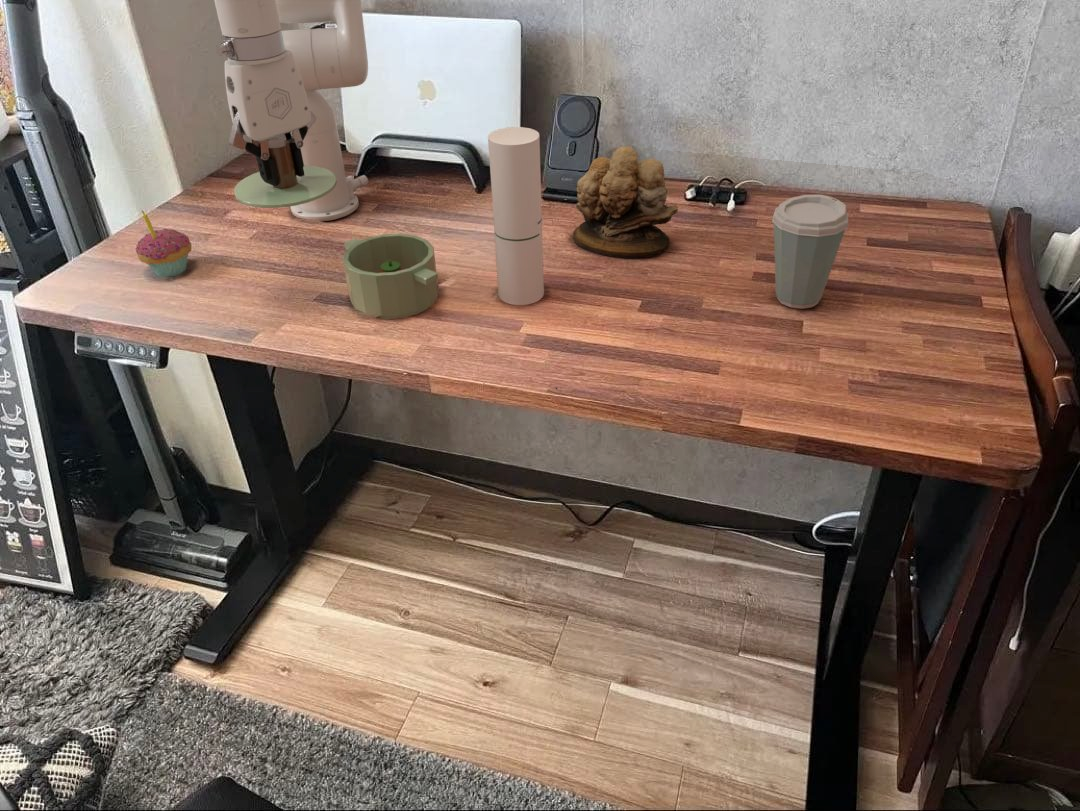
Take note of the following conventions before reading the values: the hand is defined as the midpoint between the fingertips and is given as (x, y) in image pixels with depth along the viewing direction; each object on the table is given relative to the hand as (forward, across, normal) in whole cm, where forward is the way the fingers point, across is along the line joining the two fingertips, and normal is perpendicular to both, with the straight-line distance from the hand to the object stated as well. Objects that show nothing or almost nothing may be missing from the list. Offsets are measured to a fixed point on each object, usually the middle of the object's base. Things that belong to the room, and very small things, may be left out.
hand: (284, 177), depth 123 cm
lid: (+1, 0, 0) cm, 1 cm away
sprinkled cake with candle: (+19, -10, +24) cm, 33 cm away
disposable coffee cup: (+19, +47, -60) cm, 78 cm away
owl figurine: (+19, +45, -28) cm, 57 cm away
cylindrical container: (+19, +21, -26) cm, 39 cm away
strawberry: (+19, +8, -11) cm, 23 cm away
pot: (+19, +8, -11) cm, 24 cm away
